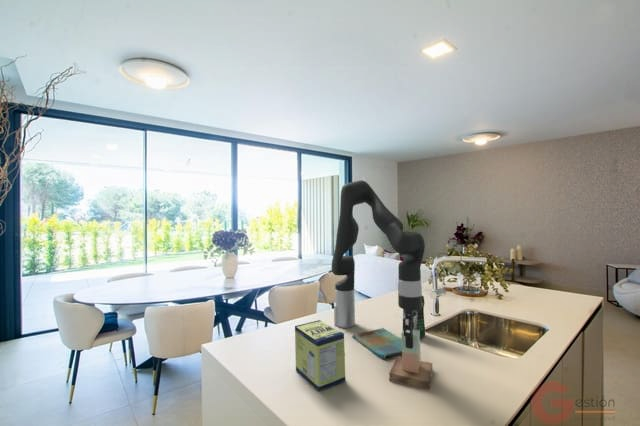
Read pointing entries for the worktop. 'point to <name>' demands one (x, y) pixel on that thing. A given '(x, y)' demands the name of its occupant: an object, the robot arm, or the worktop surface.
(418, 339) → the sage block
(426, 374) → the plinth
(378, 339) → the dish towel
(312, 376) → the protein box
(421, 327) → the coffee jar
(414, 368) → the terracotta block
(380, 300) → the worktop surface
